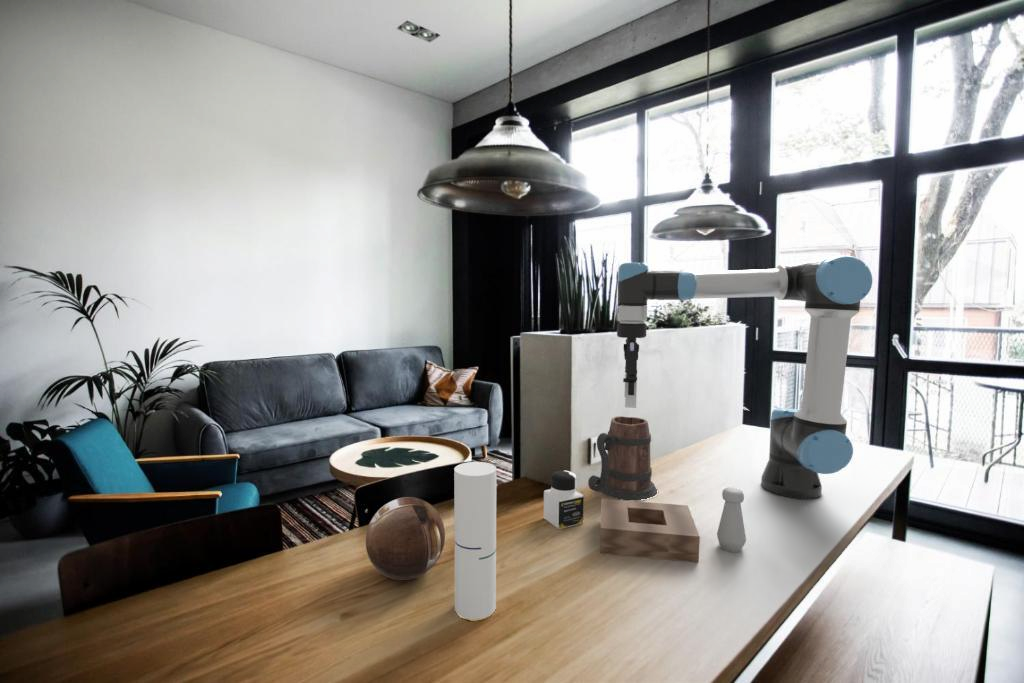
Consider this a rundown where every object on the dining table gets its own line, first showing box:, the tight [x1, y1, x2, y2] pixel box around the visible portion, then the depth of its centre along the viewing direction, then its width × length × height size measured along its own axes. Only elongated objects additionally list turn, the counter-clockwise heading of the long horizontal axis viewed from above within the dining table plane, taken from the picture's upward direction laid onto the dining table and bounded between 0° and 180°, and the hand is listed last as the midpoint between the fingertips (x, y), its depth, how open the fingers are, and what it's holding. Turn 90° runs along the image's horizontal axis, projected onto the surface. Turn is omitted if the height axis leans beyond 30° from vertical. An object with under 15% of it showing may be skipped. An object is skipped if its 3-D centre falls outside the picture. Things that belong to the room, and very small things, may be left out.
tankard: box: [587, 415, 658, 501], centre depth 142 cm, size 24×17×20 cm
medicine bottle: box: [543, 469, 585, 530], centre depth 123 cm, size 7×7×12 cm
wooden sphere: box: [365, 496, 446, 581], centre depth 99 cm, size 15×15×15 cm
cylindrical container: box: [453, 461, 497, 620], centre depth 87 cm, size 7×7×25 cm
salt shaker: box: [716, 487, 747, 553], centre depth 110 cm, size 6×6×13 cm
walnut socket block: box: [599, 498, 701, 563], centre depth 114 cm, size 20×16×6 cm
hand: (629, 402), depth 135 cm, fingers open, 13 cm apart
